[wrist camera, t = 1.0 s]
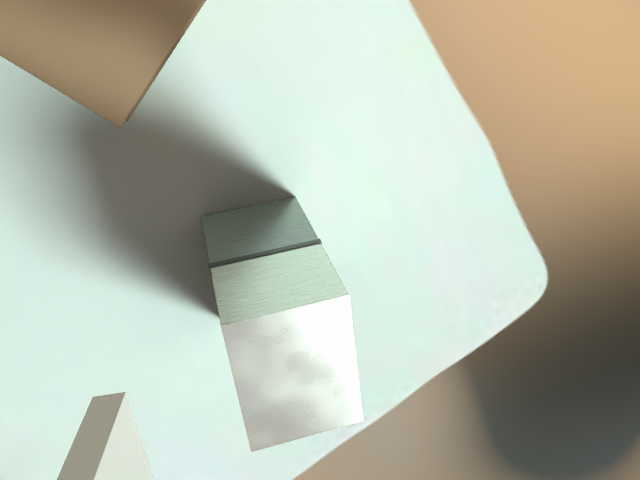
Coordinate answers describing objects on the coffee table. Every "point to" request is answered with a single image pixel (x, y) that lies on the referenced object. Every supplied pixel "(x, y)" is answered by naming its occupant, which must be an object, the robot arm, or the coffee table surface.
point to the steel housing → (283, 323)
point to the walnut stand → (95, 46)
